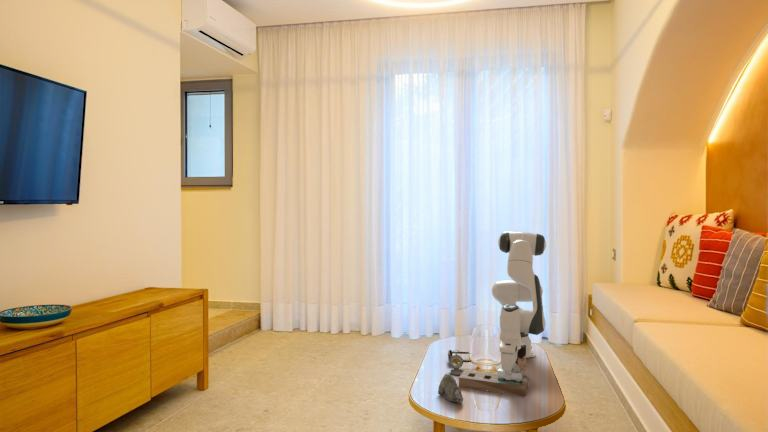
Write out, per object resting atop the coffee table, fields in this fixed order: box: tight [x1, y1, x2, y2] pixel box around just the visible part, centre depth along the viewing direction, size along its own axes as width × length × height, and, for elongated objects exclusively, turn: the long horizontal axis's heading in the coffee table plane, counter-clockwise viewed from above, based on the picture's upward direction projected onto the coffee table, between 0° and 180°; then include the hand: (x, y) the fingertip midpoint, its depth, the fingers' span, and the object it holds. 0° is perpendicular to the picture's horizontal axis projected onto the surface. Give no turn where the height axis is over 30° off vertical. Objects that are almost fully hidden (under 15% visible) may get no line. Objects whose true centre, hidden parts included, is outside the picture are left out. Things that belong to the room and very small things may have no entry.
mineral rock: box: [437, 373, 464, 404], centre depth 201 cm, size 13×11×10 cm
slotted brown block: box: [458, 369, 529, 397], centre depth 214 cm, size 10×28×4 cm, turn 67°
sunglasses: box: [447, 349, 472, 363], centre depth 247 cm, size 14×15×5 cm
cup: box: [514, 342, 527, 378], centre depth 229 cm, size 7×7×15 cm
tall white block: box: [497, 368, 523, 384], centre depth 212 cm, size 3×10×8 cm, turn 67°
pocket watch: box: [448, 349, 465, 376], centre depth 233 cm, size 8×8×10 cm
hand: (509, 375), depth 212 cm, fingers open, 8 cm apart
